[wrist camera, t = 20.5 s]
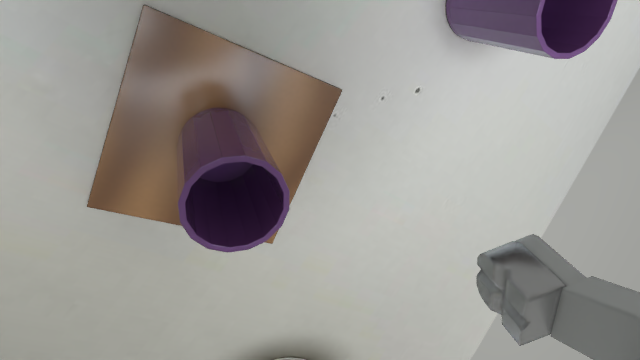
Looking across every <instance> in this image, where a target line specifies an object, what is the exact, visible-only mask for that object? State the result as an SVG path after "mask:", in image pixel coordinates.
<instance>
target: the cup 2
mask: <svg viewBox="0 0 640 360" xmlns="http://www.w3.org/2000/svg"><path fill="white" fill-rule="evenodd" d="M616 3H617V0H447V1H446V15H447V19H448V22H449V25H450V27H451V28H452V30H453V31H454V32H455V33H456V34H457V35H458V36H459V37H461V38H463V39H467V40H468V41H473V42H478V43H482V44H487V45H492V46H497V47H501V48H506V49H511V50H516V51H520V52H525V53H530V54H535V55H539V56H544V57H549V58H554V59H569V58H572V57H574V56H576V55H578V54H580V53H582V52H584V51H585V50H587V49H588V48H589V47H590V46H591V45H592V44H593V43H594V42H595V41H596V40H597V39H598V38H599V37H600V35H601V34H602V32H603V31H604V29H605V28H606V26H607V24H608V23H609V21H610V19H611V17H612V14H613V12H614V9H615V6H616Z"/></svg>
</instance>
